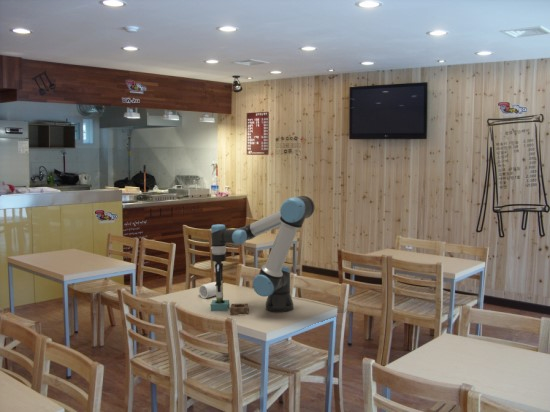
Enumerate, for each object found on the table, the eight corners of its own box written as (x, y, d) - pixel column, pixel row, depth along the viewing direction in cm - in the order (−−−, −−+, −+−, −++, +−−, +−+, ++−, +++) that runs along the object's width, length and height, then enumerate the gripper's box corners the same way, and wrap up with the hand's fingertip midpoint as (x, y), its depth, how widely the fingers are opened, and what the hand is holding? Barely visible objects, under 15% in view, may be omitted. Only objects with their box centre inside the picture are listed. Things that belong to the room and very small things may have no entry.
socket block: (229, 306, 315) (229, 299, 314) (227, 310, 306) (227, 304, 305) (212, 306, 315) (212, 300, 314) (210, 310, 306) (210, 304, 305)
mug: (220, 296, 337) (220, 282, 336) (207, 299, 329) (207, 285, 329) (207, 292, 345) (207, 279, 344) (194, 296, 338) (194, 282, 337)
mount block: (248, 309, 307) (248, 303, 306) (247, 314, 298) (247, 308, 297) (231, 310, 307) (231, 303, 306) (230, 314, 298) (230, 308, 297)
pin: (223, 305, 312) (223, 279, 311) (222, 307, 308) (222, 281, 307) (216, 305, 312) (216, 280, 311) (216, 307, 308) (215, 281, 307)
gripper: (213, 250, 316) (214, 292, 318) (209, 256, 299) (211, 300, 301) (227, 250, 316) (228, 292, 318) (224, 256, 299) (225, 300, 301)
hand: (219, 296), depth 310 cm, fingers closed on pin, 3 cm apart
